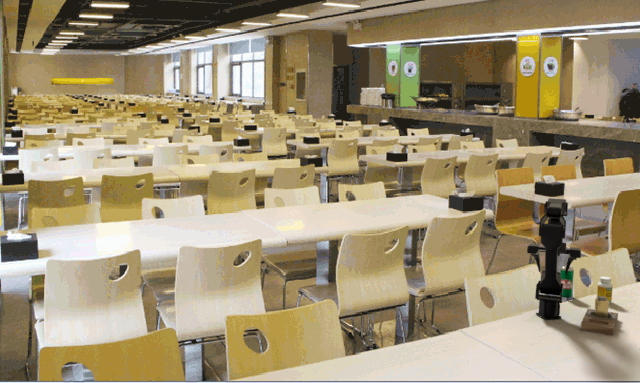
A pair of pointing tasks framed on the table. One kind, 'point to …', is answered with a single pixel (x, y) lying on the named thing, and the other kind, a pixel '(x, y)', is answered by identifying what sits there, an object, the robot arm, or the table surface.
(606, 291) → the supplement bottle
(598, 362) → the table surface
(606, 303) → the tan salt shaker
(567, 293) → the soda can
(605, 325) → the socket block
